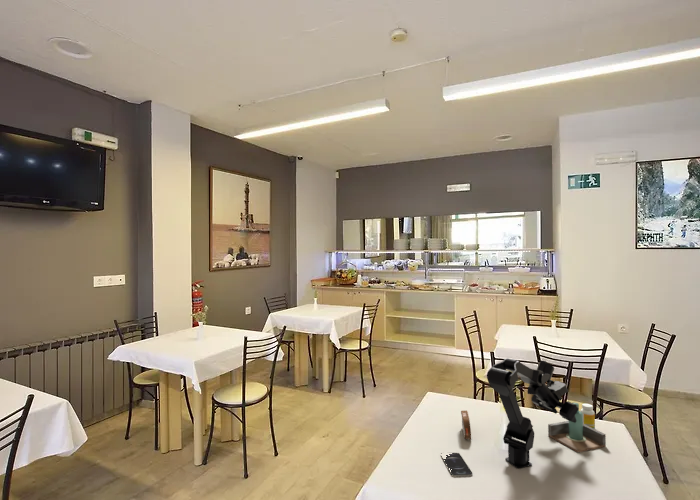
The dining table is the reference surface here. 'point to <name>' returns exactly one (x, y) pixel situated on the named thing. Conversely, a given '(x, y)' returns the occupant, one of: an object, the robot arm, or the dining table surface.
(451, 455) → the smartphone
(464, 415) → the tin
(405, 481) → the dining table surface
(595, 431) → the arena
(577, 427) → the teal bottle
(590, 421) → the supplement bottle
